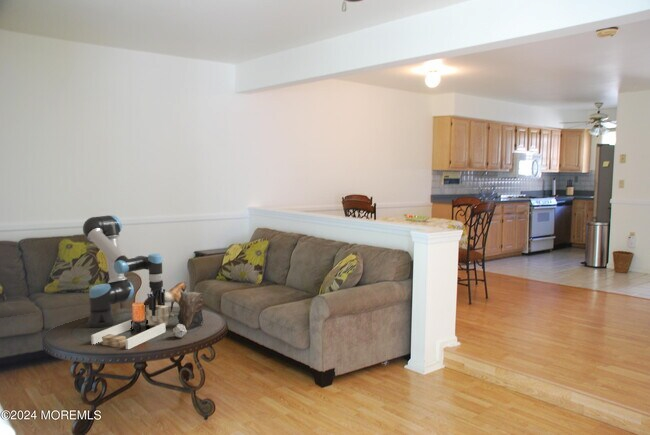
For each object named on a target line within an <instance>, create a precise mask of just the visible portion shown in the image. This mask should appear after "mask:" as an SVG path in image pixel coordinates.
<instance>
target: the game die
mask: <svg viewBox="0 0 650 435" xmlns="http://www.w3.org/2000/svg"><path fill="white" fill-rule="evenodd" d="M170 329H171V331H172V332H173V334H172V335H173V336H174V338H180V340H182V338H183V337H185V335H186V334H188V333H189V331H188V330H186V327H185V324H184V325H183V324H179V321H178V323H177V324H175V326H174V327H173V328H170Z"/></svg>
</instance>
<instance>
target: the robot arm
mask: <svg viewBox="0 0 650 435" xmlns="http://www.w3.org/2000/svg"><path fill="white" fill-rule="evenodd" d="M122 228H123V226H122V221H121V220H120V218H118V217H117V216H116V215H102V216H101V215H100V216H91V217H90V218H88V219H86V220H85V222H84V223H83V226H82V233H83V235H84V237H85V238H86V239H87V240H88V241H90V242H92V243H93V244H94V245H95V246H96V247H97V248H98V249H99V250H100V251H101V252H102V253H103V254H104V256H105V260H106V266H107V267H106V268H107V272H108V277H109V280H108V281H107V283H100V284H96V285H93V286H91V287H90V289H89V293H88V294H89V295H88V297H89V311H90V313H89V315H88V320H87V326H88V327H89V328H104V327H105V328H106V327H110V326H114V324H115V323H116V319H115V317H114V314H113V311H112V305H115V304H119V303H123V302H127V301H129V300H131V299H132V298H133V295H134V290H135V289H134V285H133V283H132V282H131V281H129V280H128V277H127V276H125V274H127V273H132V272H137V271H140V270H147V271H148V280H149V283H148V286H149V288H150V292H149V293H147V298H148V301H149V310H152V318H153V321H157V310H156V302H157V303H158V305H163V306H166V302H165V292H166V289H164V288H163V287H164V282H163V258H162V254H160V253H150V254H149V255H147V256H145V255H137V256H135V257H132V258H128V257H127V256H126V255H125V254H124V253H123V252H122V251H121V250H120V246H119V241H118V238H119V237H120V233H121V231H122Z"/></svg>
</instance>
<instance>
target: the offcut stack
mask: <svg viewBox="0 0 650 435" xmlns="http://www.w3.org/2000/svg"><path fill="white" fill-rule="evenodd" d="M126 339H127V337H126V336H125V335H120V334H118V335H112V334H108V335H106V336H103V337H102V340H103V341H101V342H100V343H101V344H102V345H103V346H106V347H107V346H108V347H113V348H117V349H118V348H119V349H120V348H123V347H126Z"/></svg>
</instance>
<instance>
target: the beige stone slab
mask: <svg viewBox="0 0 650 435" xmlns="http://www.w3.org/2000/svg"><path fill="white" fill-rule="evenodd" d="M169 307H170V306H169V305H165V306H163V305H156V310H157V321H153V318H152V310H149V305H147V306H146V312H145V318H146V319H147V320H148V324H147V325H149V326H150V325H151V326H158V325H160V324H162V323H165V327H167V326H168V325H170V315H169V314H170V312H169Z"/></svg>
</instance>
